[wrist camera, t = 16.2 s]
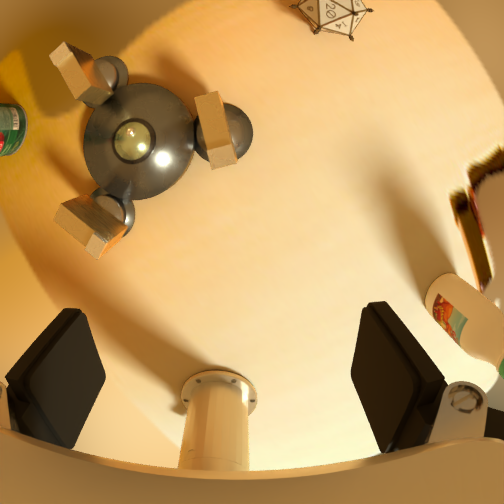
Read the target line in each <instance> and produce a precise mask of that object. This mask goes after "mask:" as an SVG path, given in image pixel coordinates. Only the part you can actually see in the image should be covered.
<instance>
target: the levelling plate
mask: <svg viewBox="0 0 504 504" xmlns="http://www.w3.org/2000/svg"><path fill="white" fill-rule="evenodd" d="M99 59H102V60H106V61H108V62H110V63H112V64H113V65H115V66H116V67H117V69H118V71H119V83H118V86H117V88H116V90H115V91H114V94H113V95H112V96H110V97H109V98H108V99H107V100H106V101H104V102H103V103H102V104H101V105H98V104H94V103H89V102H84V101H83V102H84V103H85V104H86V105H87V106H89V107H91V108H96V109H95V110H94V112H93V113H92V115H91V117H90V119H89V121H88V124H87V126H86V130H85V134H84V145H83V149H84V157H85V161H86V165H87V167H88V170H89V172H90V174H91V176H92V177H93V179H94V180H95V181H96V183H97V184H98V185H99V186H100V188H98V189H97V190H95V191H94V192H93V193H92V194H91V196H90V197H91V198H92V199H94V198H96V197H98V196H101V195H103V194H111V195H113V196H116V197H118V198H119V199H120V200H121V201H122V202H123V204H124V206H125V209H126V221H125V225H127V226H128V228H127V230H126V231H125V233H124V235H123V236H122V237H124V236H125V235H126V234H128V232H129V231H130V230H131V228H132V226H133V224H134V220H135V209H134V205H133V202H132V200H142V199H147V198H151V197H154V196H156V195H158V194H160V193H162V192H164V191H165V190H167V189H169V188H170V187H171V186H173V185H174V184H175V183H176V182H177V181H178V180H179V179H180V178H181V177H182V176H183V175H184V173H185V172H186V170H187V169H188V167H189V165H190V163H191V160H192V158H193V155H194V151H196V152H197V153H198V154H199V155H200V156H201V157H202V158H203V159H205V160H207V161H209V158H208V154H207V152H206V151H204V150H203V149H202V148H201V146H200V145H199V143H198V140H197V135H196V132H197V127H198V124H199V122H200V119H199V115H198V116H197V117H196V119H195V120H193V118H192V115H191V113H190V111H189V109H188V108H187V106H186V105H185V104H184V102H183V101H182V100H181V99H180V98H178V97H177V96H176V95H174V94H173V93H172V92H170V91H169V90H167V89H165V88H163V87H161V86H158V85H154V84H149V83H137V84H131V85H127V83H128V70H127V67H126V65H125V64H124V62H123V61H122V60H120V59H119V58H117V57H113V56H105V57H101V58H99ZM99 59H97V60H99ZM223 105H224V109H225V110H226V111H230V112H232V113H233V114H235V115H236V116H237V117H238V118H239V119H240V120H241V122H242V124H243V127H244V138H243V141H242V143H241V145H240V147H239V148H238V149H237V150H236V151H235V152H236V156H237V160H238V159H239V158H240V157H242V156H243V155H244V154H245V153H246V152H247V150H248V149H249V147H250V145H251V142H252V138H253V129H252V124H251V122H250V120H249V118H248V117H247V115H246V114H245V113H244V112H243V111H242V110H240V109H239V108H237V107H235V106H232V105H229V104H223ZM209 162H210V161H209Z"/></svg>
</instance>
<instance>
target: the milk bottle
mask: <svg viewBox="0 0 504 504" xmlns="http://www.w3.org/2000/svg"><path fill="white" fill-rule="evenodd" d="M425 304H426V309H427V311H428V313H429V314H430V315H431V316H432V317H433V318H434V319H435V321H436V322H437V323H438V324H439V325H440V326H441V327H442V328H443V329H444V330H445V331H446V332H447V333H448V335H449V336H450V337H451V338H452V339H453V340H454V341H455V342H456V343H457V344H458V345H459V346H460V347H461V348H462V349H463V350H464V351H465V352H466V353H467V354H468V355H470V356H472V357H473V358H476V359H479V360H482V361H486V362H488V363H491V364H492V365H494V366H495V367H496V370H497V372H499V374H500V375H501V377H502V378H503V379H504V315H503V313H502V312H501V311H500V309H499V308H498V307H497V306H496V305H494V304H493V303H492V302H491V301H490V300H489V299H488V298H486V297H485V296H484V295H483V294H481V293H480V292H479V291H478V290H476V289H475V288H474V287H472V286H471V285H470V284H468V283H467V282H466V281H464V280H463V279H462V278H460V277H459V276H457V275H456V274H453V273H448V274H444V275H441V276H440V277H438V278H437V279H436V280H435V281H434V282H433V283H432V284H431V286H430V287H429V289H428V291H427V294H426V298H425Z"/></svg>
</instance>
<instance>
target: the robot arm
mask: <svg viewBox="0 0 504 504" xmlns="http://www.w3.org/2000/svg"><path fill="white" fill-rule="evenodd" d="M5 378H6V380H7V382H8V384H9V385H8V387H7V388H6V386H5V385H4V384H3V383H2V382H0V504H504V412H503V411H500V410H496V409H492V408H490V407H488V400H487V397H486V394H485V393H484V391H483V390H482V389H481V388H480V387H478V386H477V385H475V384H473V383H470V382H465V381H459V382H454V383H451V384H450V385H448V384H447V383H446V381H445V380H444V379H445V377H444V376H443V375H442V373H441V372H440V370H439V369H438V368H437V366H436V365H435V364H434V362H433V361H432V360H431V358H430V357H429V356H428V354H427V353H426V352H425V350H424V349H423V348H422V346H421V345H420V344H419V342H418V341H417V340H416V339H415V337H414V336H413V335H412V333H411V332H410V331H409V330H408V328H407V327H406V326H405V324H404V323H403V322H402V321H401V319H400V318H399V317H398V316H397V314H396V313H395V312H394V311H393V310H392V308H391V307H390V306H389V305H388V303H387V302H385V301H381V302H370V303H368V305H367V307H364V308H363V309H362V313H361V319H360V325H359V331H358V337H357V342H356V347H355V352H354V357H353V362H352V367H351V378H352V381H353V384H354V386H355V389H356V391H357V393H358V396H359V398H360V401H361V403H362V406H363V408H364V411H365V413H366V416H367V418H368V421H369V423H370V426H371V429H372V431H373V434H374V436H375V439H376V442H377V444H378V447H379V449H380V451H381V453H386V454H382V455H378V456H373V457H368V458H363V459H358V460H352V461H346V462H340V463H334V464H328V465H320V466H313V467H304V468H294V469H282V470H265V471H249V432H248V416H249V415H250V414H251V413H252V412H253V411H254V409H255V408H256V405H257V393H256V390H255V388H254V387H253V385H252V384H251V383H250V382H249V381H248V380H246V379H245V378H243V377H241V376H239V375H237V374H234V373H231V372H227V371H205V372H201V373H198V374H196V375H194V376H192V377H190V378H189V379H188V380H187V381H186V382H185V383H184V385H183V388H182V392H181V400H182V403H183V405H184V406H185V408H186V409H187V410H188V411H187V417H186V422H185V428H184V434H183V440H182V445H181V451H180V458H179V464H178V469H175V468H166V467H157V466H150V465H143V464H136V463H130V462H124V461H119V460H114V459H109V458H103V457H99V456H95V455H90V454H86V453H82V452H78V451H74V450H71V449H72V448H73V447H74V446H75V443H76V441H77V439H78V436H79V434H80V432H81V430H82V428H83V426H84V424H85V421H86V419H87V417H88V415H89V413H90V411H91V409H92V407H93V405H94V402H95V400H96V398H97V396H98V394H99V392H100V390H101V388H102V386H103V384H104V382H105V378H106V375H105V370H104V368H103V365H102V362H101V360H100V357H99V354H98V351H97V348H96V345H95V343H94V340H93V336H92V333H91V330H90V327H89V324H88V321H87V317H86V315H85V314H84V313H82V311H81V310H80V309H76V308H65V309H63V310H62V311H61V312H60V313H59V314H58V316H57V317H56V318H55V319H54V320H53V321H52V322H51V323H50V324H49V325H48V326H47V328H46V329H45V330H44V331H43V332H42V333H41V334H40V335H39V336H38V338H37V339H36V340H35V341H34V342H33V343H32V344H31V346H30V347H29V348H28V349H27V350H26V352H25V353H24V354H23V355H22V356H21V357H20V359H19V360H18V361H17V362H16V363H15V365H14V366H13V367H12V368H11V370H10V371H9V372H8V373H7V375H6V376H5Z"/></svg>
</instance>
